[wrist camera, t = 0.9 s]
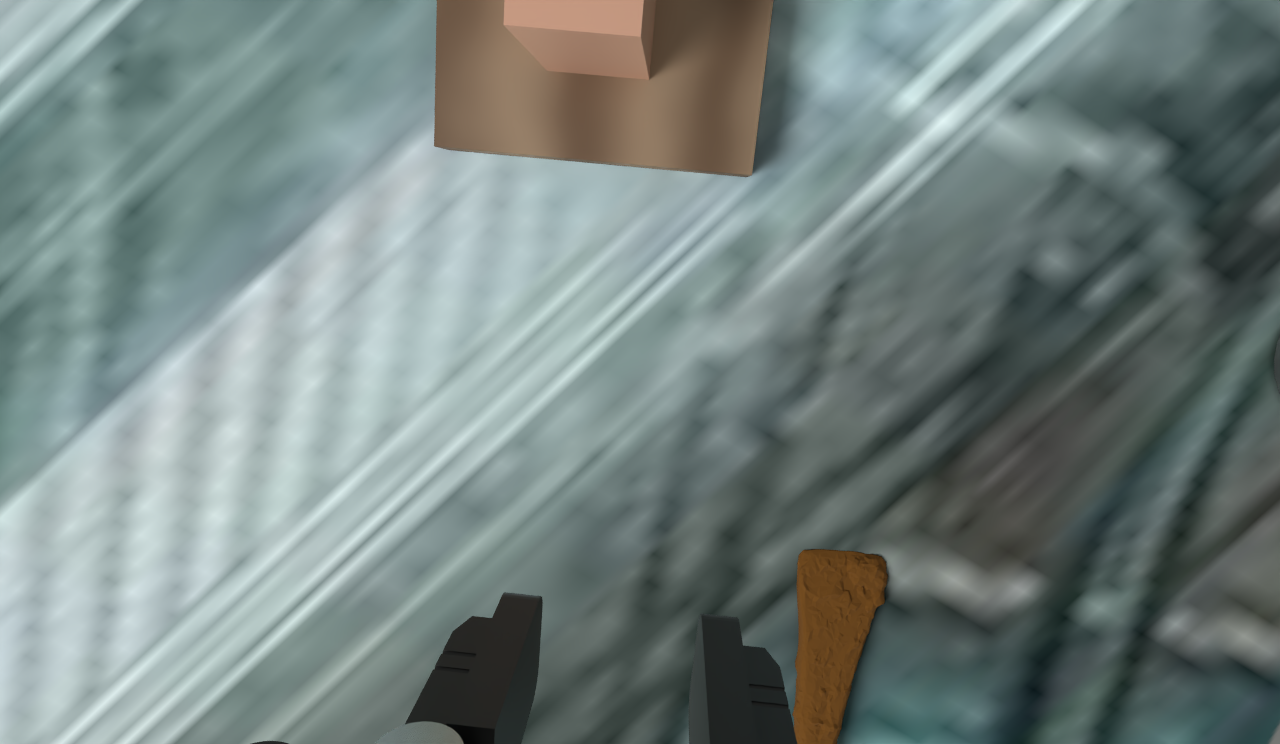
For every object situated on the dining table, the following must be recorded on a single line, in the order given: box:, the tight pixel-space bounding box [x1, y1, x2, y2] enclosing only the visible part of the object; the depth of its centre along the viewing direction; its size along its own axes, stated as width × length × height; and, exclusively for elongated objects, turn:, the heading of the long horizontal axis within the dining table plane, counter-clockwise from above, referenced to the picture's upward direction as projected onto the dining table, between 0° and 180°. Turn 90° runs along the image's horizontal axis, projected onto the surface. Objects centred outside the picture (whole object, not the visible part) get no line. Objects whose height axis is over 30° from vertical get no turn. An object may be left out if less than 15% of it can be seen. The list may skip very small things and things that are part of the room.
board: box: [434, 0, 773, 177], centre depth 35 cm, size 16×12×2 cm
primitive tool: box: [793, 549, 888, 744], centre depth 43 cm, size 19×6×4 cm, turn 177°
